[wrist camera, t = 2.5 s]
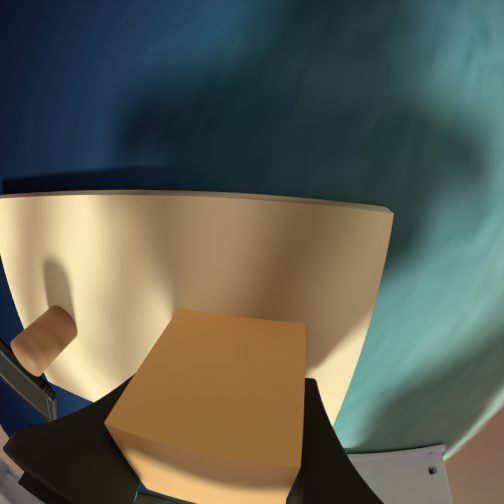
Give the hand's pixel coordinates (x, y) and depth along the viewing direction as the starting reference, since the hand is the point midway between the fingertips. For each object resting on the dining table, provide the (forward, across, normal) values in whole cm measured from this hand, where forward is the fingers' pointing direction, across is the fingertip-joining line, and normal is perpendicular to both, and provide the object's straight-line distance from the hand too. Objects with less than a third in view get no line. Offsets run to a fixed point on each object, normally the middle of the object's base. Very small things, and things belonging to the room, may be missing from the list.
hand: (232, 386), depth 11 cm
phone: (+3, +25, +10) cm, 27 cm away
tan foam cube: (+1, 0, 0) cm, 1 cm away
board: (+2, +5, 0) cm, 6 cm away
